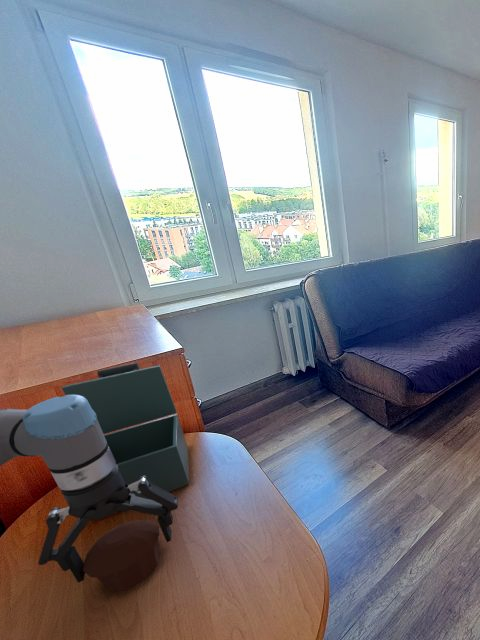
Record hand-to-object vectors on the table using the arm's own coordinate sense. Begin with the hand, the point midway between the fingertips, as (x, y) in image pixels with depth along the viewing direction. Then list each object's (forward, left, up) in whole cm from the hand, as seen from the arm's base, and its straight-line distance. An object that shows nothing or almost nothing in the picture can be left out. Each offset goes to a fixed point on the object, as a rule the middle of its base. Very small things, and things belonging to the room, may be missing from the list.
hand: (128, 555), depth 68 cm
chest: (-11, +25, -4) cm, 28 cm away
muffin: (0, 0, -4) cm, 4 cm away
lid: (-14, +31, +17) cm, 38 cm away
